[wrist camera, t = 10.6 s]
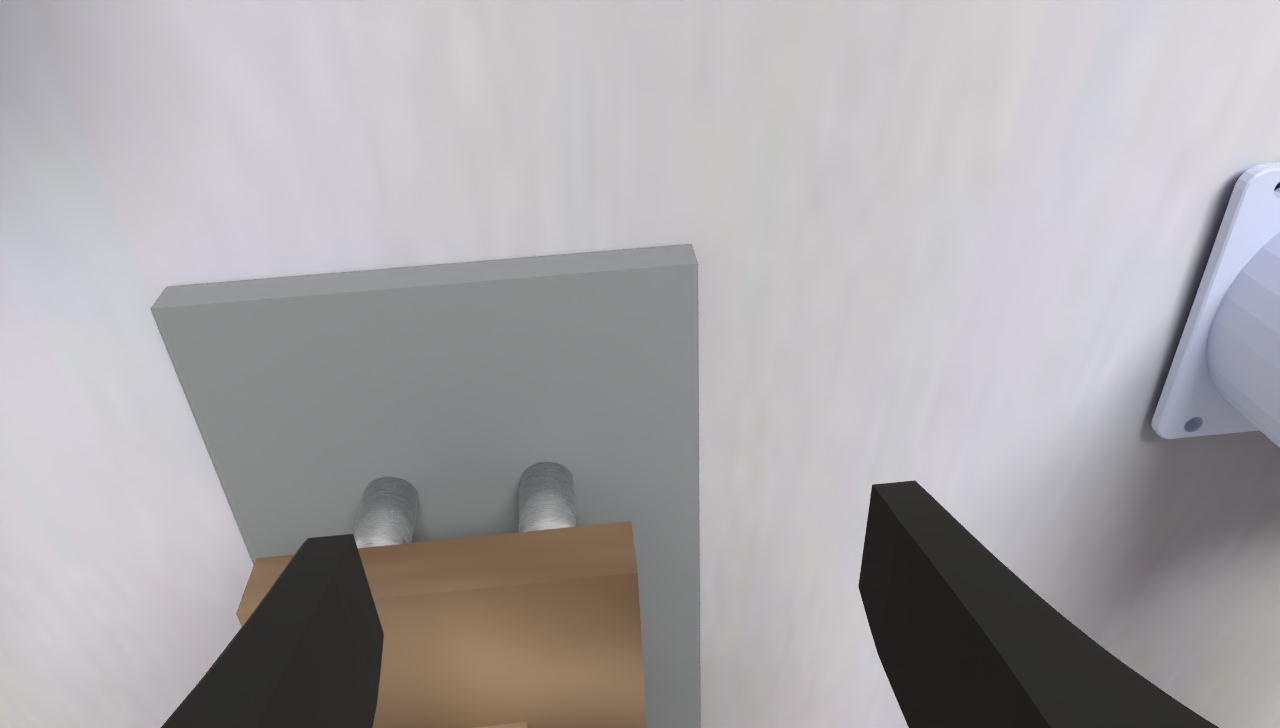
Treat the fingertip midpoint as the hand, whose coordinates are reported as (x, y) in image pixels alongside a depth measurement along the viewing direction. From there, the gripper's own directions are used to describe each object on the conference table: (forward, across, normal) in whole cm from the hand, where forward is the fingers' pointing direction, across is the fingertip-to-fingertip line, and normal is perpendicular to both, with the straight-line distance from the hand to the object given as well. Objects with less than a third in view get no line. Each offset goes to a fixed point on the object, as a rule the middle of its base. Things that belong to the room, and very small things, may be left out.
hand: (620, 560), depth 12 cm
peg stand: (+10, +4, +11) cm, 15 cm away
